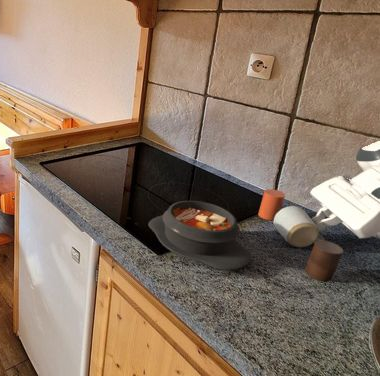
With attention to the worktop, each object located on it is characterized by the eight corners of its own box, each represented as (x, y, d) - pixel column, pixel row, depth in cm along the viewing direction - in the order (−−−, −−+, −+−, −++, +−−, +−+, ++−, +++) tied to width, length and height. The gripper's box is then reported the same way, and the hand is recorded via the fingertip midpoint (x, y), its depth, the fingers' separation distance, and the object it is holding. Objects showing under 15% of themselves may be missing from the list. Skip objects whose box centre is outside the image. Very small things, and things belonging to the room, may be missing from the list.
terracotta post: (273, 212, 113) (280, 189, 110) (281, 221, 108) (288, 197, 105) (255, 211, 113) (261, 188, 110) (262, 220, 108) (269, 196, 106)
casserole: (130, 232, 101) (134, 202, 98) (181, 214, 110) (186, 186, 107) (214, 287, 82) (222, 253, 79) (267, 260, 91) (277, 228, 88)
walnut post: (324, 268, 89) (334, 241, 86) (337, 282, 85) (348, 254, 82) (300, 266, 89) (310, 239, 87) (312, 280, 85) (322, 252, 82)
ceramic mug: (283, 248, 96) (293, 220, 93) (269, 230, 103) (277, 204, 100) (330, 252, 95) (341, 223, 92) (312, 233, 103) (322, 207, 99)
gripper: (338, 164, 101) (287, 197, 106) (395, 201, 83) (330, 238, 88) (351, 181, 103) (300, 213, 108) (409, 221, 85) (345, 257, 89)
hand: (314, 225), depth 98 cm, fingers closed
